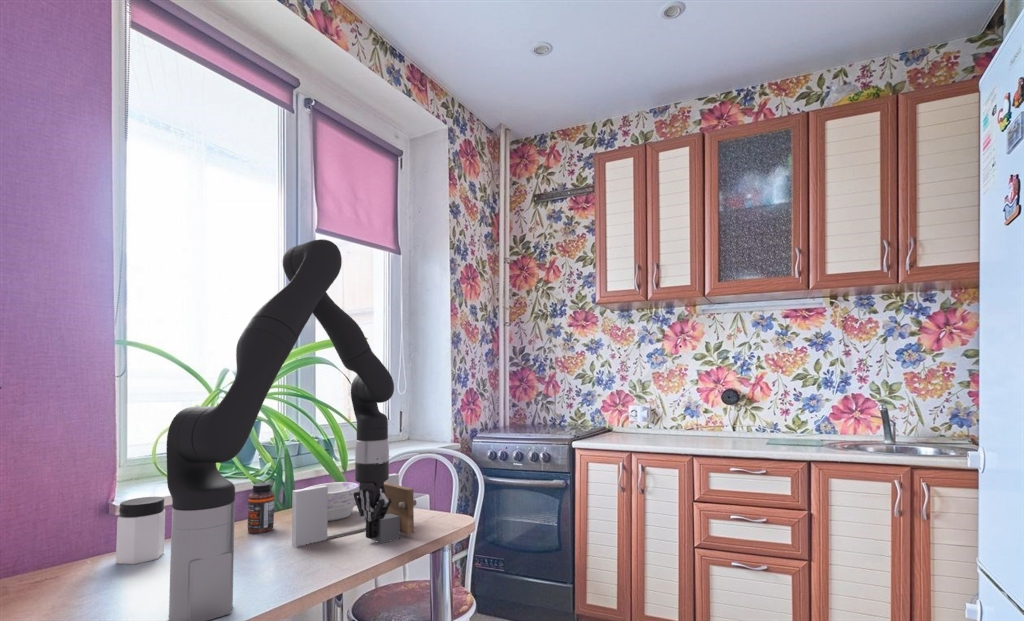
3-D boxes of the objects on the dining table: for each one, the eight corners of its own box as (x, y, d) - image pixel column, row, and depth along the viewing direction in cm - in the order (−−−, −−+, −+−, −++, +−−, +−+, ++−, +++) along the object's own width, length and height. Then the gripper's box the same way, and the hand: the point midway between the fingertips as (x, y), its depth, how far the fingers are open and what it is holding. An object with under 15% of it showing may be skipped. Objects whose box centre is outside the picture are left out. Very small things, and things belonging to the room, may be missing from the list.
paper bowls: (291, 517, 156) (291, 487, 157) (344, 507, 166) (344, 479, 167) (315, 528, 145) (315, 495, 146) (370, 516, 155) (370, 486, 156)
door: (385, 521, 146) (385, 480, 147) (417, 531, 136) (417, 488, 137) (371, 525, 143) (371, 483, 144) (403, 535, 133) (403, 490, 134)
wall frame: (399, 522, 148) (398, 474, 150) (295, 547, 130) (296, 491, 131) (394, 521, 150) (394, 473, 151) (291, 545, 131) (292, 490, 132)
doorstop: (399, 538, 134) (399, 516, 135) (381, 543, 131) (381, 520, 132) (390, 535, 137) (390, 513, 138) (371, 539, 134) (371, 517, 134)
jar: (125, 554, 127) (127, 497, 129) (167, 550, 130) (169, 494, 131) (110, 567, 119) (112, 506, 120) (155, 562, 121) (157, 503, 122)
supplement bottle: (241, 533, 142) (242, 485, 143) (259, 526, 148) (259, 481, 149) (262, 534, 140) (263, 486, 141) (278, 528, 146) (279, 481, 147)
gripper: (342, 458, 136) (342, 535, 134) (372, 464, 126) (372, 547, 125) (371, 455, 141) (371, 529, 139) (402, 460, 132) (402, 539, 130)
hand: (371, 537), depth 132 cm, fingers closed
